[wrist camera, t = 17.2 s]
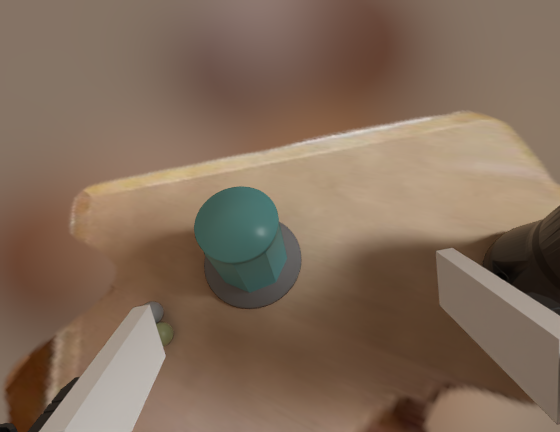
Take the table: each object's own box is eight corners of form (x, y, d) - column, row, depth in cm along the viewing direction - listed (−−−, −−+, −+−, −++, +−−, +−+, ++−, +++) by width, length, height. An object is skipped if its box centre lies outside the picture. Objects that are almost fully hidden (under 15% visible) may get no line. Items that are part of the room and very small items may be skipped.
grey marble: (159, 300, 47) (150, 294, 45) (171, 315, 46) (162, 309, 44) (141, 315, 47) (131, 310, 44) (153, 331, 45) (143, 327, 43)
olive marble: (168, 320, 46) (159, 314, 43) (181, 336, 45) (172, 332, 42) (150, 336, 45) (140, 332, 42) (162, 353, 44) (152, 350, 41)
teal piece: (297, 241, 49) (291, 200, 40) (268, 303, 45) (254, 274, 36) (238, 220, 52) (220, 177, 42) (206, 276, 48) (178, 243, 38)
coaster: (256, 202, 54) (255, 200, 53) (321, 258, 48) (321, 256, 47) (186, 261, 50) (185, 260, 49) (248, 330, 44) (247, 330, 44)
